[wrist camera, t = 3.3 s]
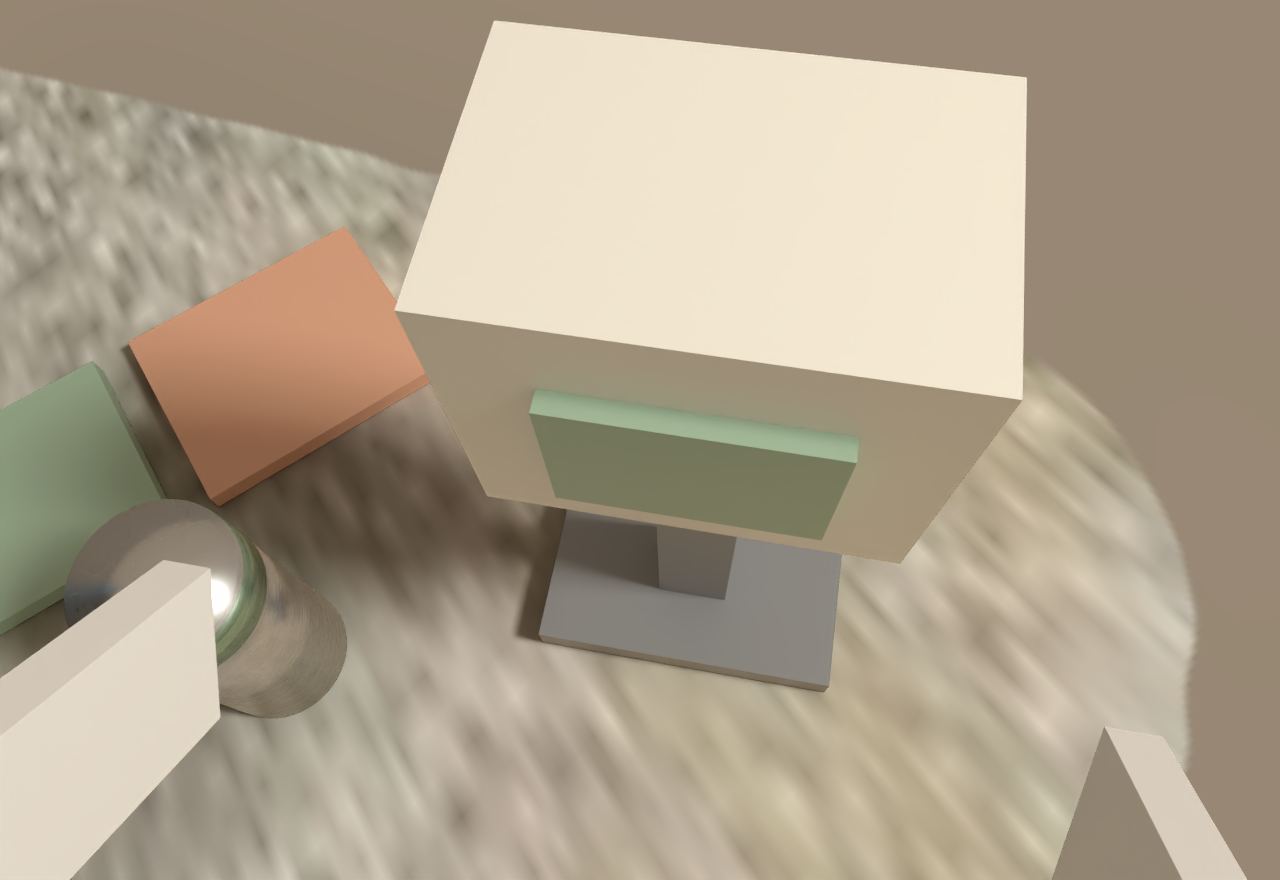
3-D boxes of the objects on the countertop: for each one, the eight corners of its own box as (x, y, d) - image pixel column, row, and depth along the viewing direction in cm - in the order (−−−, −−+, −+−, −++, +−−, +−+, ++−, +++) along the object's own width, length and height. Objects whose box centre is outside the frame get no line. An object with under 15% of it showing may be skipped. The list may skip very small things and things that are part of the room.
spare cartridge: (196, 636, 44) (38, 559, 33) (312, 564, 45) (197, 467, 34) (250, 747, 41) (99, 704, 31) (370, 668, 43) (267, 600, 32)
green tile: (-139, 500, 47) (-155, 493, 46) (102, 370, 50) (92, 361, 49) (-78, 680, 43) (-94, 676, 42) (182, 528, 46) (172, 521, 45)
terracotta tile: (137, 351, 50) (127, 342, 49) (350, 236, 53) (344, 226, 52) (219, 506, 46) (209, 499, 45) (444, 373, 49) (440, 364, 48)
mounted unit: (583, 464, 47) (480, -1, 22) (842, 504, 45) (1050, 60, 20) (542, 644, 43) (361, 332, 18) (823, 694, 42) (1050, 433, 17)
